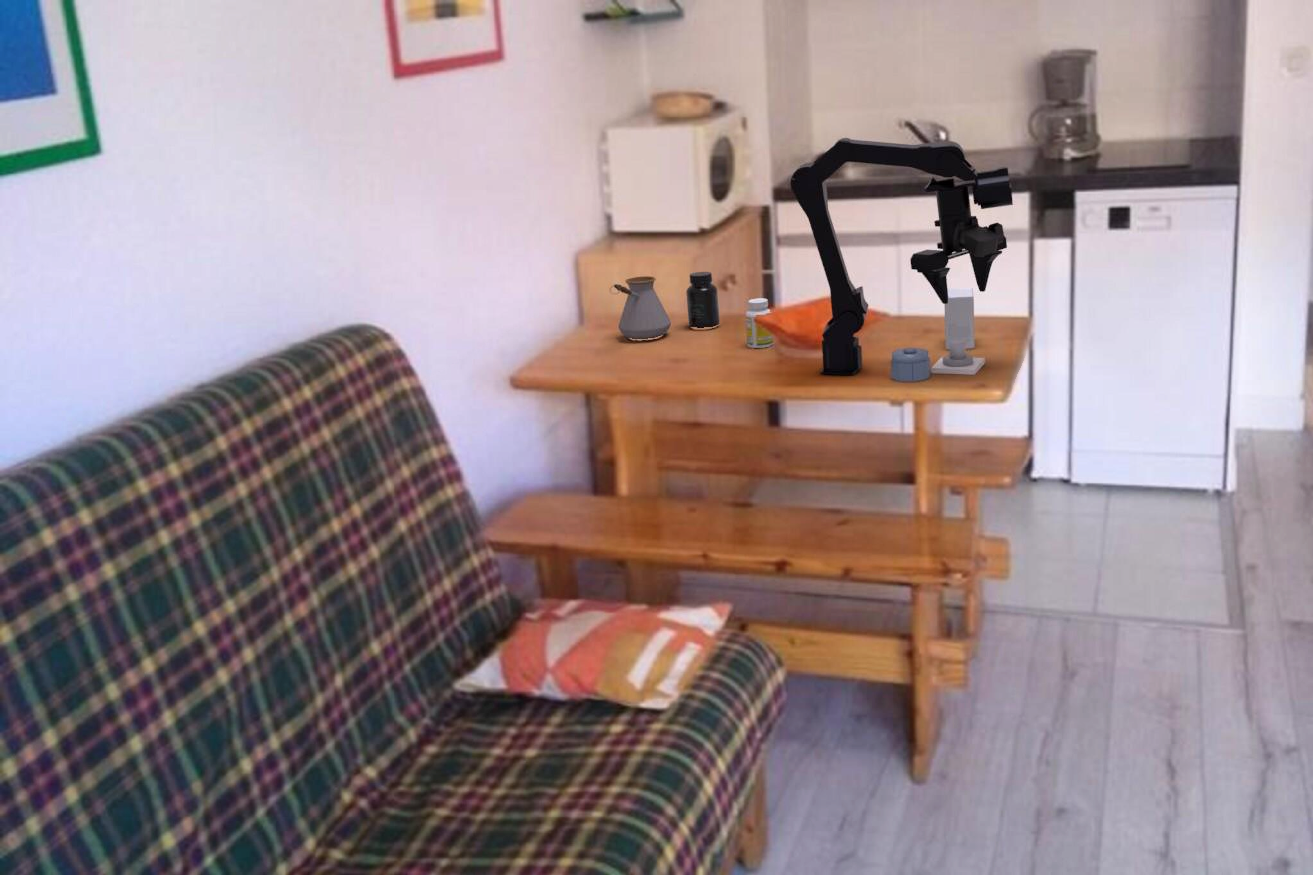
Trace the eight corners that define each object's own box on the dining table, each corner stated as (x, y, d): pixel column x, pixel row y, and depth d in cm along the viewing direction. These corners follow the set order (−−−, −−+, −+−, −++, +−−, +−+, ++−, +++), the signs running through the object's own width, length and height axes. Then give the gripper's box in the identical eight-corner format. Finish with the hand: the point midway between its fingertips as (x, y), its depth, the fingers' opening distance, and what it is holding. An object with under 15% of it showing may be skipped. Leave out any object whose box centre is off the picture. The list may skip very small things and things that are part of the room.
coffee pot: (630, 330, 307) (624, 264, 302) (679, 330, 303) (673, 263, 298) (594, 355, 288) (587, 285, 283) (646, 356, 284) (639, 284, 279)
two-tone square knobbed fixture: (931, 373, 253) (930, 346, 252) (942, 361, 260) (941, 336, 259) (974, 374, 250) (973, 348, 248) (984, 363, 256) (984, 337, 255)
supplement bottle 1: (704, 322, 308) (700, 269, 305) (726, 325, 304) (722, 272, 300) (682, 328, 304) (678, 275, 300) (705, 332, 299) (701, 278, 296)
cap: (888, 380, 251) (887, 353, 249) (898, 371, 256) (897, 344, 255) (923, 382, 248) (922, 354, 246) (933, 372, 253) (932, 345, 252)
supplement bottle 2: (743, 348, 283) (740, 302, 280) (754, 342, 287) (751, 297, 284) (766, 349, 280) (764, 303, 277) (777, 343, 285) (775, 297, 282)
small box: (974, 349, 267) (973, 296, 264) (945, 350, 268) (944, 297, 265) (973, 339, 274) (973, 287, 271) (945, 340, 275) (944, 288, 272)
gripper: (946, 225, 235) (956, 313, 240) (1025, 202, 244) (1033, 288, 248) (903, 223, 245) (914, 308, 249) (980, 201, 253) (989, 284, 258)
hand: (964, 297), depth 251 cm, fingers open, 9 cm apart
